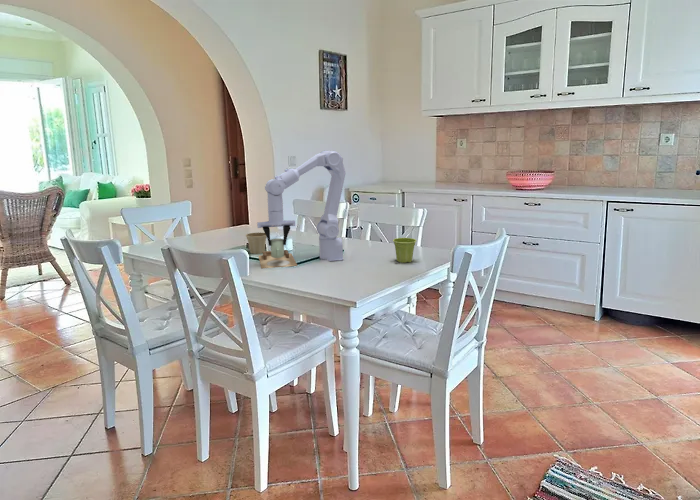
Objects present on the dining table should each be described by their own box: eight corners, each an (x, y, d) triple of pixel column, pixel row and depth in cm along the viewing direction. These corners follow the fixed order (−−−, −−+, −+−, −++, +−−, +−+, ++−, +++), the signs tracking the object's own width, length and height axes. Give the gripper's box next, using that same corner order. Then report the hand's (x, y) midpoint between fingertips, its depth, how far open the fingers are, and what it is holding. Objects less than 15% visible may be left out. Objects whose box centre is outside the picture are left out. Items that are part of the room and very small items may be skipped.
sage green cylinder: (283, 253, 208) (283, 238, 206) (285, 259, 200) (284, 243, 198) (270, 254, 207) (269, 238, 205) (271, 260, 199) (271, 244, 197)
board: (291, 255, 222) (291, 249, 221) (297, 267, 201) (297, 261, 200) (258, 257, 219) (258, 251, 218) (261, 270, 198) (260, 263, 198)
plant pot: (419, 259, 210) (419, 238, 208) (412, 264, 202) (412, 243, 200) (397, 257, 214) (397, 237, 212) (389, 262, 206) (389, 241, 204)
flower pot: (272, 254, 224) (271, 234, 223) (252, 257, 219) (250, 237, 217) (263, 250, 232) (261, 231, 230) (243, 253, 227) (242, 234, 225)
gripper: (293, 208, 205) (294, 241, 208) (256, 210, 202) (258, 243, 205) (295, 210, 198) (296, 245, 202) (257, 212, 195) (259, 247, 198)
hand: (277, 244), depth 203 cm, fingers closed on sage green cylinder, 5 cm apart
